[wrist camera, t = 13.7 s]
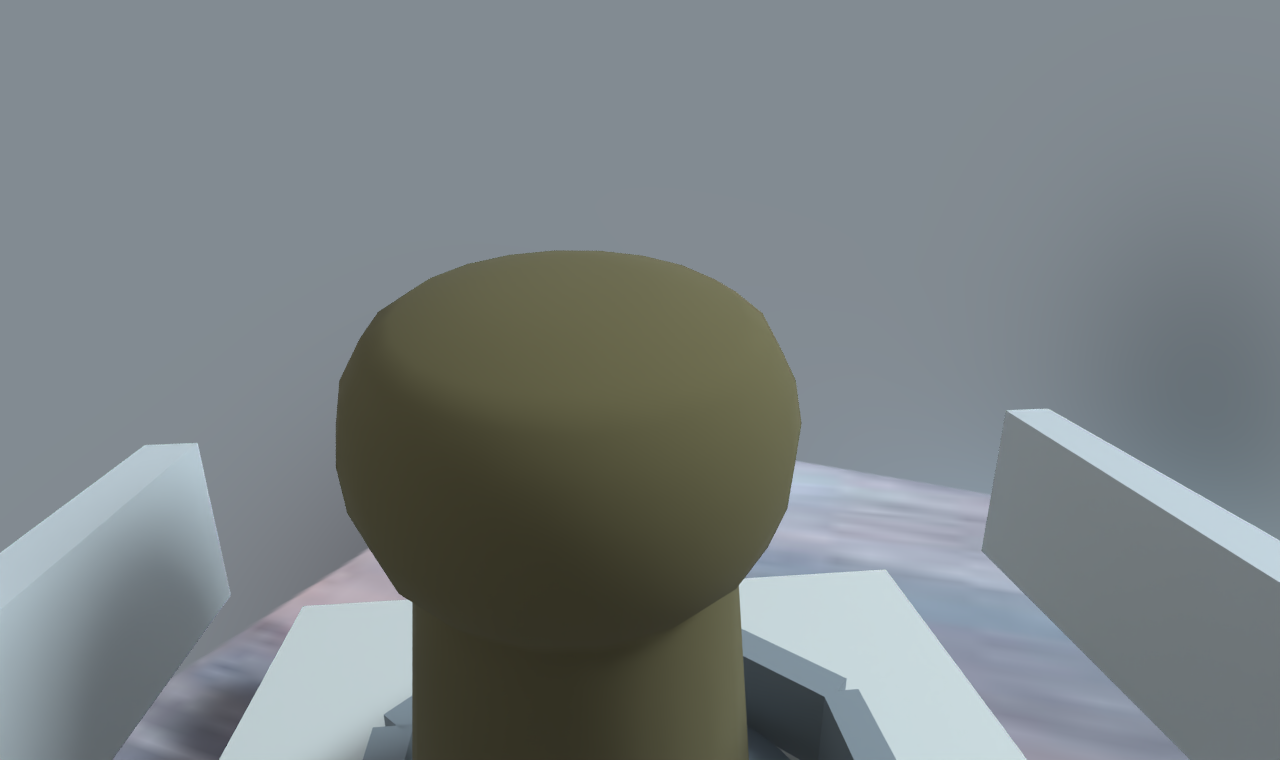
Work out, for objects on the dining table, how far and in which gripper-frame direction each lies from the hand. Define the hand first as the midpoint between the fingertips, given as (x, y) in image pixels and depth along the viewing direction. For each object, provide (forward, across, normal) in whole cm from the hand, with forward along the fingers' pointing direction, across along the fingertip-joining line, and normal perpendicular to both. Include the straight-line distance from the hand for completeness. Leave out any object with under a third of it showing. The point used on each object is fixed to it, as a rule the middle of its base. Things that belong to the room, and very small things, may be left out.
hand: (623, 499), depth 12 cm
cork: (-1, -1, -7) cm, 7 cm away
